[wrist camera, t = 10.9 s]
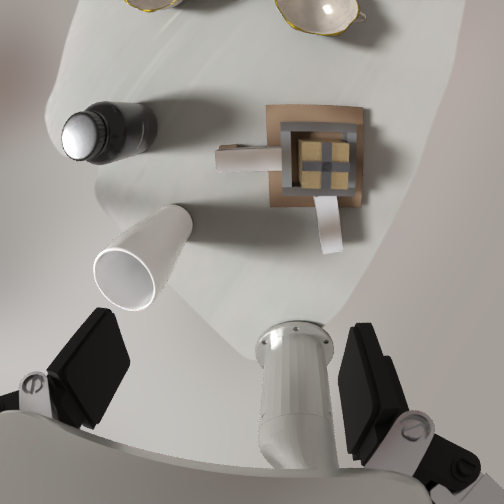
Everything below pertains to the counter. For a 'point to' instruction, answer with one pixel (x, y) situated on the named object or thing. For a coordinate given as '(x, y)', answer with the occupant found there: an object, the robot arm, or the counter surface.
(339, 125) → the shaft rig
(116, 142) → the supplement bottle
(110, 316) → the robot arm
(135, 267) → the drinking glass
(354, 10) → the chinaware
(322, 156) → the block
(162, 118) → the counter surface
